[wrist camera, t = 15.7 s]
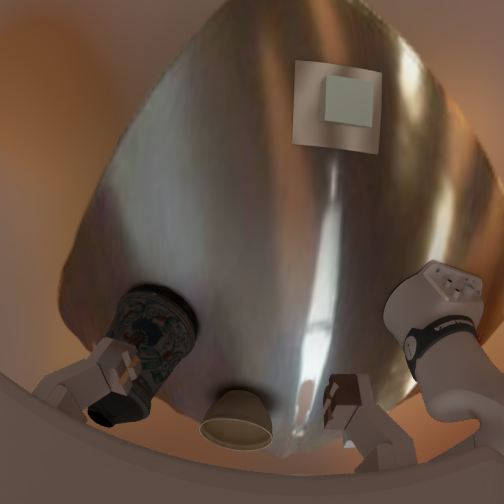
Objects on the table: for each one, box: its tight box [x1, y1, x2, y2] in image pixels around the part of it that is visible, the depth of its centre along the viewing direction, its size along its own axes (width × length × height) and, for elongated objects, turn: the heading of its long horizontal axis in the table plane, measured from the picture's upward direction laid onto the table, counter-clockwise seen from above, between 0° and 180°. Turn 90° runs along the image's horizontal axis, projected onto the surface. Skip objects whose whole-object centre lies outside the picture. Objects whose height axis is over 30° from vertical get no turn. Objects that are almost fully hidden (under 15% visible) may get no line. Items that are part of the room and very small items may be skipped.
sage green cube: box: [319, 75, 374, 128], centre depth 28 cm, size 5×5×6 cm
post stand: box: [292, 60, 382, 155], centre depth 29 cm, size 12×12×7 cm
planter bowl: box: [199, 390, 273, 451], centre depth 55 cm, size 16×16×11 cm
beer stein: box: [88, 284, 198, 428], centre depth 41 cm, size 16×19×25 cm
